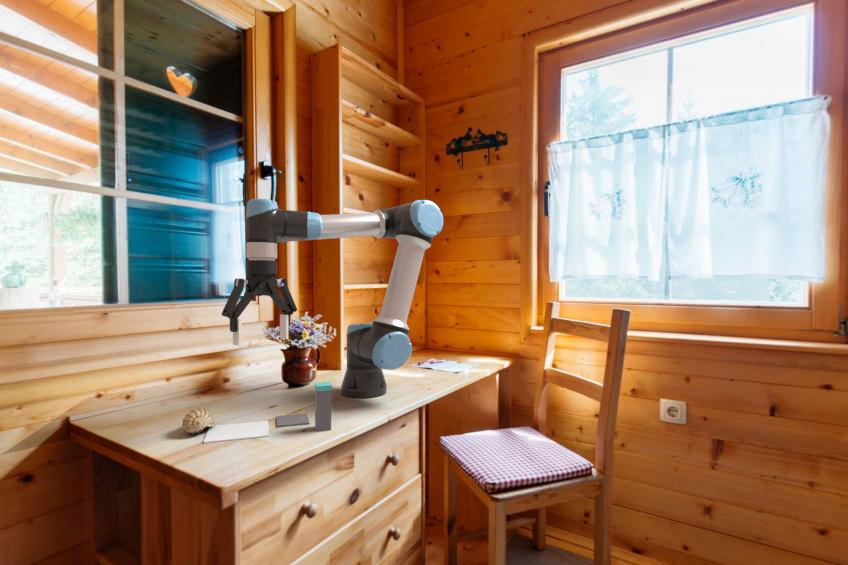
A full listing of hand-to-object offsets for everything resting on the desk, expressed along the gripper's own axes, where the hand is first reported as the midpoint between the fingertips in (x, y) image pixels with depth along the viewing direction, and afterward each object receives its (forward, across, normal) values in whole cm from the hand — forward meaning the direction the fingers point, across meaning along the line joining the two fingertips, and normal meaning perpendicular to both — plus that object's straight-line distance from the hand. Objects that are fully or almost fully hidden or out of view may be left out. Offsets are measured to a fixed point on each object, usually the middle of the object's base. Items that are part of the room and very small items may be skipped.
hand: (261, 341), depth 112 cm
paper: (+21, +7, +1) cm, 22 cm away
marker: (+21, -8, +15) cm, 27 cm away
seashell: (+21, +13, -8) cm, 26 cm away
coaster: (+21, -6, +5) cm, 23 cm away
